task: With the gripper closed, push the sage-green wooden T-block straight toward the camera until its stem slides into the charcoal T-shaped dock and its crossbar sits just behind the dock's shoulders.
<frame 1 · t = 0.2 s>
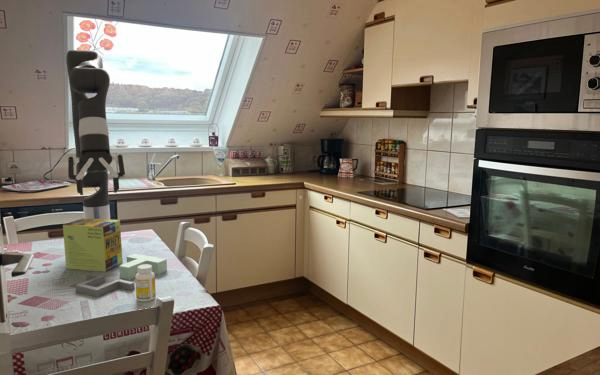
hand: (98, 193, 133), 31 cm above the table, tool tilted 20°, fingers open, 8 cm apart
supplement bottle: (146, 299, 140), on the table
t dock: (109, 284, 151), on the table
t block: (138, 272, 161), on the table
protein box: (95, 266, 169), on the table
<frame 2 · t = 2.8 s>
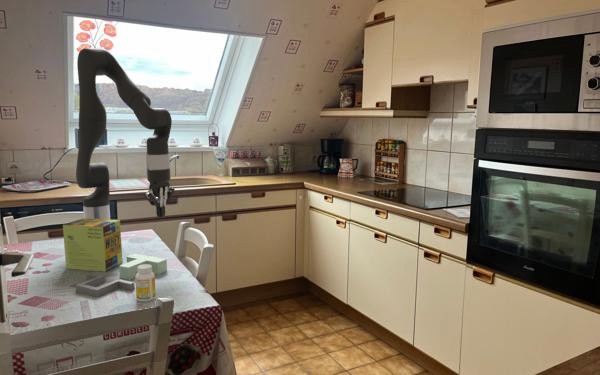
hand: (161, 216, 169), 17 cm above the table, tool pointing down, fingers closed
nothing on the table moved.
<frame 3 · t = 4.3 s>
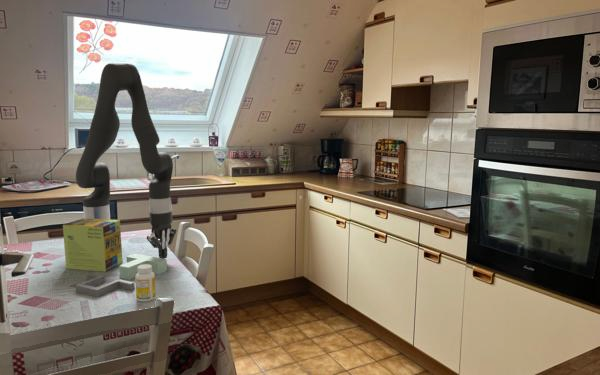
hand: (163, 258, 171), 2 cm above the table, tool pointing down, fingers closed
nothing on the table moved.
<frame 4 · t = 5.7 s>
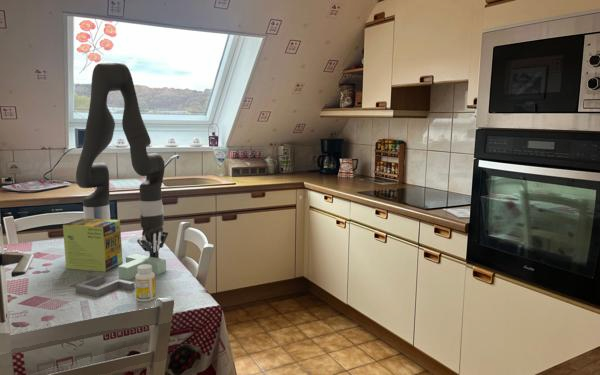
hand: (154, 261, 168), 2 cm above the table, tool pointing down, fingers closed
t block: (137, 273, 161), on the table, touching gripper
everything else where it was.
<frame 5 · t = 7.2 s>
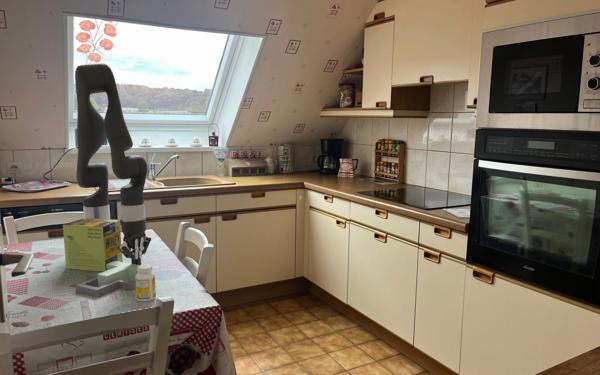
hand: (136, 268, 160), 2 cm above the table, tool pointing down, fingers closed
t block: (118, 281, 153), on the table, touching gripper
everything else where it was.
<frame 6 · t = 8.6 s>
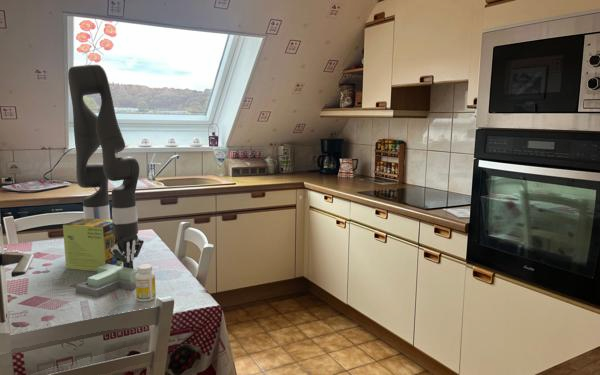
hand: (128, 272, 157), 2 cm above the table, tool pointing down, fingers closed
t block: (109, 285, 150), on the table, touching gripper
everything else where it was.
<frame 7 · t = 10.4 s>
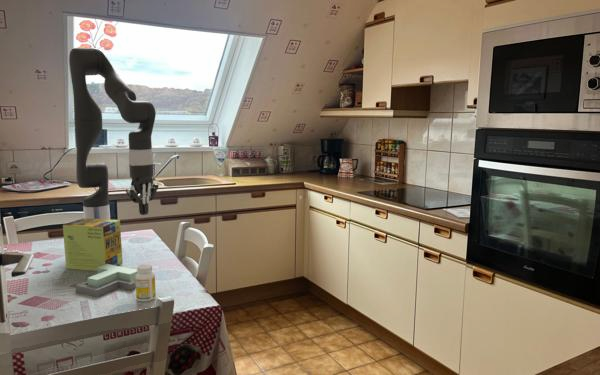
hand: (144, 214, 162), 19 cm above the table, tool pointing down, fingers closed
t block: (109, 285, 150), on the table
everything else where it was.
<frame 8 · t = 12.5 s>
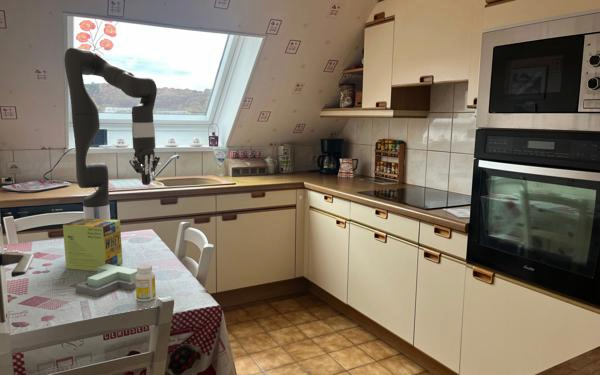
hand: (146, 184, 172), 27 cm above the table, tool pointing down, fingers closed
nothing on the table moved.
at the end: t block 0.6 cm off-centre on the t dock, point 0.0 cm above the t dock's base; t block tilted 0° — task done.
